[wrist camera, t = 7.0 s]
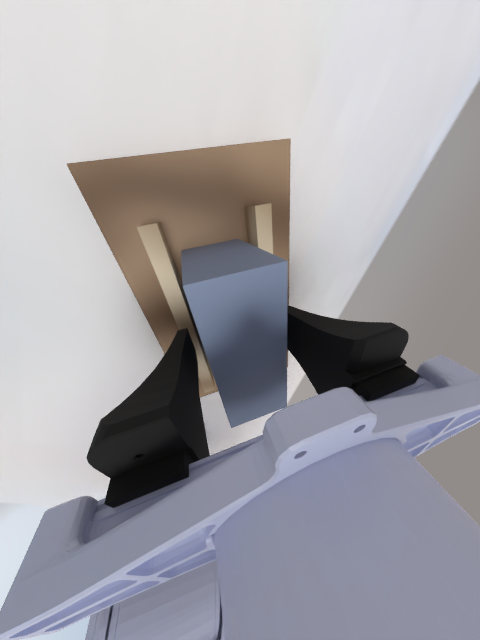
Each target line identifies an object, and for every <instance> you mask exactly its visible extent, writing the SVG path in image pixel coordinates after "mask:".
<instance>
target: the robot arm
mask: <svg viewBox="0 0 480 640" xmlns="http://www.w3.org/2000/svg"><path fill="white" fill-rule="evenodd" d="M407 342H408V332H407V331H406V330H404V329H402V328H401V327H399V326H397V325H395V324H393V323H381V322H380V323H379V322H376V323H375V322H357V321H347V320H340V319H334V318H329V317H324V316H320V315H316V314H313V313H309V312H306V311H303V310H300V309H297V308H294V307H292V306H289V305H287V349H288V350H289V351H290V352H291V354H292V355H293V356H294V357H295V358H296V360H297V361H298V362H299V364H300V365H301V367H302V368H303V370H304V372H305V373H306V375H307V376H308V378H309V380H310V381H311V383H312V385H313V386H314V388H315V390H316V392H317V393H318V395H317V396H314V397H312V398H309V399H306V400H304V401H301V402H299V403H296V404H293V405H291V406H288V407H286V408H283V409H282V410H280V411H278V412H276V413H274V414H273V415H272V416H271V417H270V418H269V419H268V420H267V421H266V423H265V426H264V430H263V435H261V436H258V437H256V438H253V439H251V440H248V441H246V442H243V443H241V444H238V445H236V446H233V447H231V448H228V449H226V450H223V451H221V452H219V453H216V454H214V455H211V456H210V455H209V450H208V444H207V439H206V433H205V427H204V421H203V415H202V409H201V403H200V395H199V377H198V361H197V355H196V350H195V347H194V345H193V342H192V340H191V337H190V334H189V332H188V329H187V328H185V329H181V330H178V331H177V333H176V335H175V337H174V339H173V341H172V343H171V345H170V346H169V348H168V350H167V352H166V353H165V355H164V357H163V358H162V360H161V361H160V363H159V364H158V365H157V367H156V368H155V369H154V371H153V372H152V373H151V374H150V375H149V376H148V378H147V379H146V380H145V381H144V382H143V383H142V384H141V385H140V386H139V387H138V388H137V389H136V390H135V391H134V392H133V393H132V394H131V395H130V396H129V397H128V398H127V399H126V400H124V401H123V402H122V403H121V404H120V405H119V406H117V407H116V408H115V409H114V410H112V411H111V412H110V413H109V414H108V415H106V416H105V417H104V418H102V419H101V421H100V423H99V425H98V428H97V430H96V433H95V435H94V438H93V441H92V443H91V446H90V449H89V452H88V455H87V460H88V463H89V464H90V465H91V466H92V467H93V468H95V469H96V470H98V471H100V472H101V473H103V474H105V475H106V476H108V477H109V478H111V479H110V483H109V487H108V491H107V495H106V498H104V499H102V500H99V501H97V500H96V499H94V498H93V497H90V496H83V497H79V498H76V499H73V500H70V501H68V502H65V503H63V504H60V505H58V506H55V507H53V508H50V509H48V510H47V511H45V513H44V515H43V517H42V519H41V522H40V524H39V526H38V528H37V530H36V533H35V535H34V537H33V539H32V542H31V544H30V546H29V548H28V551H27V553H26V555H25V557H24V560H23V562H22V564H21V566H20V569H19V571H18V573H17V575H16V577H15V580H14V582H13V584H12V586H11V588H10V591H9V593H8V595H7V597H6V599H5V602H4V604H3V606H2V608H1V611H0V640H19V639H24V638H29V637H34V636H39V635H44V634H49V633H54V632H57V631H60V630H61V629H64V628H66V627H68V626H70V625H72V624H74V623H76V622H78V621H80V620H82V619H84V618H86V617H88V616H90V615H91V616H90V620H89V625H88V629H87V634H86V638H85V640H480V526H479V525H478V524H477V523H476V522H475V521H474V520H473V519H472V518H471V517H470V516H469V515H468V514H467V512H465V510H464V509H463V508H462V507H461V506H460V505H459V504H458V503H457V502H456V501H455V500H454V499H453V498H452V497H451V496H450V495H449V494H448V493H447V492H446V491H445V490H444V488H443V487H442V486H441V485H440V484H439V483H438V482H437V481H436V480H435V479H434V478H433V477H432V476H431V475H430V474H429V473H428V472H427V471H426V470H425V468H424V467H422V465H421V464H420V463H419V462H418V461H417V460H416V459H415V457H416V456H418V455H420V454H422V453H423V452H425V451H427V450H428V449H430V448H432V447H434V446H435V445H437V444H439V443H441V442H443V441H444V440H446V439H448V438H449V437H451V436H453V435H455V434H457V433H459V432H461V431H463V430H465V429H467V428H468V427H470V426H472V425H474V424H476V423H478V422H479V421H480V375H478V374H477V373H475V372H473V371H471V370H469V369H467V368H466V367H464V366H462V365H460V364H458V363H456V362H454V361H452V360H450V359H449V358H447V357H445V356H443V355H439V356H437V357H434V358H432V359H429V360H427V361H425V362H423V363H422V364H421V365H420V366H419V368H418V370H417V373H416V372H414V371H413V370H411V369H410V368H408V367H407V366H406V365H405V364H406V361H405V360H404V359H402V358H401V357H400V356H401V354H402V352H403V350H404V348H405V346H406V344H407Z"/></svg>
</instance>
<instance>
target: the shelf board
mask: <svg viewBox="0 0 480 640" xmlns="http://www.w3.org/2000/svg"><path fill="white" fill-rule="evenodd" d="M67 166H68V168H69V170H70V172H71V174H72V176H73V177H74V179H75V181H76V183H77V185H78V187H79V189H80V191H81V193H82V195H83V197H84V199H85V201H86V203H87V205H88V206H89V208H90V210H91V212H92V214H93V216H94V218H95V220H96V222H97V224H98V226H99V228H100V230H101V232H102V233H103V235H104V237H105V239H106V241H107V243H108V245H109V247H110V249H111V251H112V253H113V255H114V257H115V259H116V261H117V262H118V264H119V266H120V268H121V270H122V272H123V274H124V276H125V278H126V280H127V282H128V284H129V286H130V288H131V290H132V291H133V293H134V295H135V297H136V299H137V301H138V303H139V305H140V307H141V309H142V311H143V313H144V315H145V317H146V318H147V320H148V322H149V324H150V326H151V328H152V330H153V332H154V334H155V336H156V338H157V340H158V342H159V344H160V346H161V347H162V349H163V351H164V353H166V352H167V350H168V348H169V346H170V345H171V343H172V341H173V339H174V337H175V335H176V333H177V331H178V330H181V329H185V328H187V329H188V332H189V334H190V337H191V340H192V342H193V345H194V347H195V350H196V355H197V361H198V377H199V395H200V397H202V396H205V395H208V394H211V393H214V392H217V391H218V388H217V385H216V382H215V379H214V376H213V373H212V370H211V367H210V364H209V361H208V359H207V356H206V353H205V350H204V347H203V344H202V341H201V338H200V335H199V332H198V329H197V326H196V324H195V321H194V318H193V315H192V312H191V309H190V306H189V303H188V300H187V297H186V294H185V291H184V289H183V284H182V262H181V250H185V249H190V248H195V247H200V246H204V245H209V244H214V243H219V242H224V241H229V240H234V239H240V240H242V241H244V242H247V243H249V244H251V245H253V246H256V247H258V248H260V249H262V250H265V251H267V252H269V253H271V254H274V255H276V256H278V257H280V258H283V259H285V260H287V261H288V291H287V305H288V303H289V220H290V139H281V140H272V141H264V142H255V143H246V144H237V145H228V146H219V147H210V148H202V149H193V150H184V151H175V152H166V153H157V154H149V155H140V156H131V157H122V158H113V159H104V160H96V161H87V162H78V163H69V164H67ZM287 367H288V349H287Z"/></svg>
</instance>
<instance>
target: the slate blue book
mask: <svg viewBox="0 0 480 640" xmlns="http://www.w3.org/2000/svg"><path fill="white" fill-rule="evenodd" d="M181 262H182V284H183V289H184V291H185V294H186V297H187V300H188V303H189V306H190V309H191V312H192V315H193V318H194V321H195V324H196V326H197V329H198V332H199V335H200V338H201V341H202V344H203V347H204V350H205V353H206V356H207V359H208V361H209V364H210V367H211V370H212V373H213V376H214V379H215V382H216V385H217V388H218V391H219V394H220V396H221V399H222V402H223V405H224V408H225V411H226V414H227V417H228V420H229V423H230V426H231V428H233V427H235V426H238V425H240V424H243V423H245V422H248V421H251V420H253V419H256V418H258V417H261V416H264V415H266V414H269V413H271V412H274V411H277V410H279V409H282V408H284V407H287V291H288V261H287V260H285V259H283V258H280V257H278V256H276V255H274V254H271V253H269V252H267V251H265V250H262V249H260V248H258V247H256V246H253V245H251V244H249V243H247V242H244V241H242V240H240V239H234V240H229V241H224V242H219V243H214V244H209V245H204V246H200V247H195V248H190V249H185V250H181Z"/></svg>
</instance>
